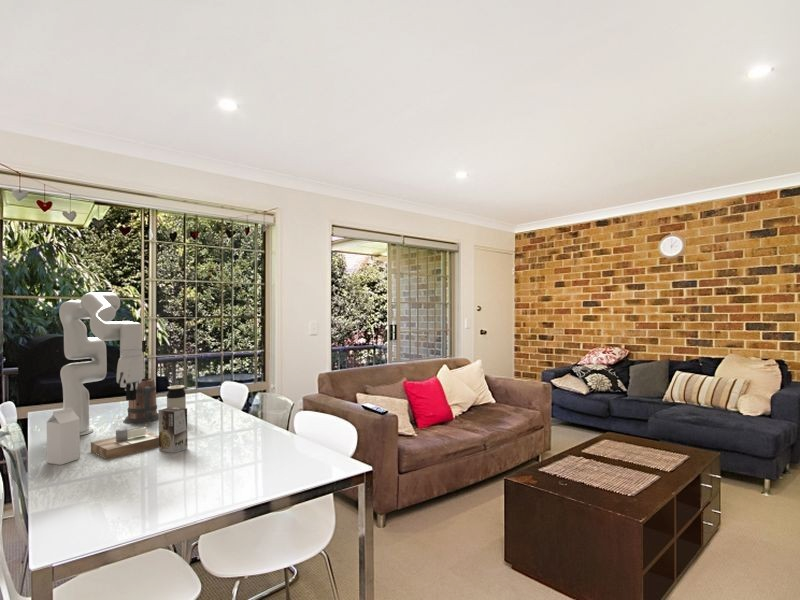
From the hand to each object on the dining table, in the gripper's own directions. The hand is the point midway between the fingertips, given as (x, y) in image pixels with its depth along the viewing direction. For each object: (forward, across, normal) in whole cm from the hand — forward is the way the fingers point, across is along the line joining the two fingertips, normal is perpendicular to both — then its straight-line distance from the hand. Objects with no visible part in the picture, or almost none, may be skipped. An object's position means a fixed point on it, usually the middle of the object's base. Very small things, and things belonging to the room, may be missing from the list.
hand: (131, 399), depth 182 cm
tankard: (+21, -43, -25) cm, 54 cm away
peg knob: (+16, -3, -2) cm, 16 cm away
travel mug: (+20, -38, -5) cm, 43 cm away
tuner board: (+20, -2, -3) cm, 20 cm away
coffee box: (+20, -2, +17) cm, 26 cm away
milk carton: (+20, +14, -16) cm, 30 cm away
